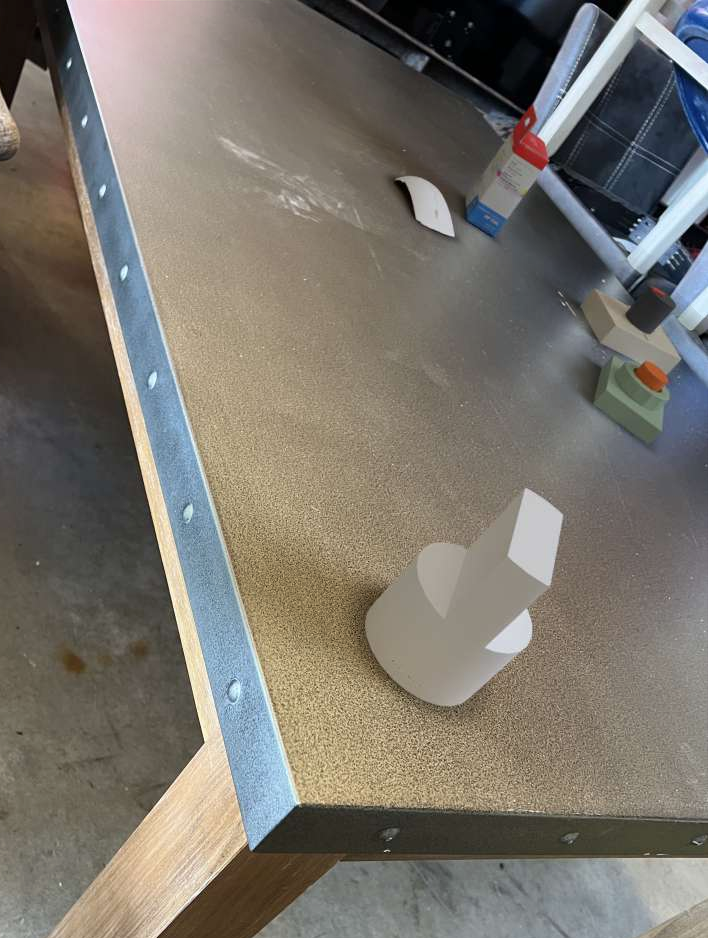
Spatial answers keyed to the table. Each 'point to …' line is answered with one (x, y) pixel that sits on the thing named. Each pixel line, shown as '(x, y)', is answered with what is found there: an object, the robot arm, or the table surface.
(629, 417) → the block
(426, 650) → the cylinder with rectangular tab
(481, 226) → the ink box
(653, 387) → the button
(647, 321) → the program dial
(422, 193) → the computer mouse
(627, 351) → the dial panel
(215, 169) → the table surface
